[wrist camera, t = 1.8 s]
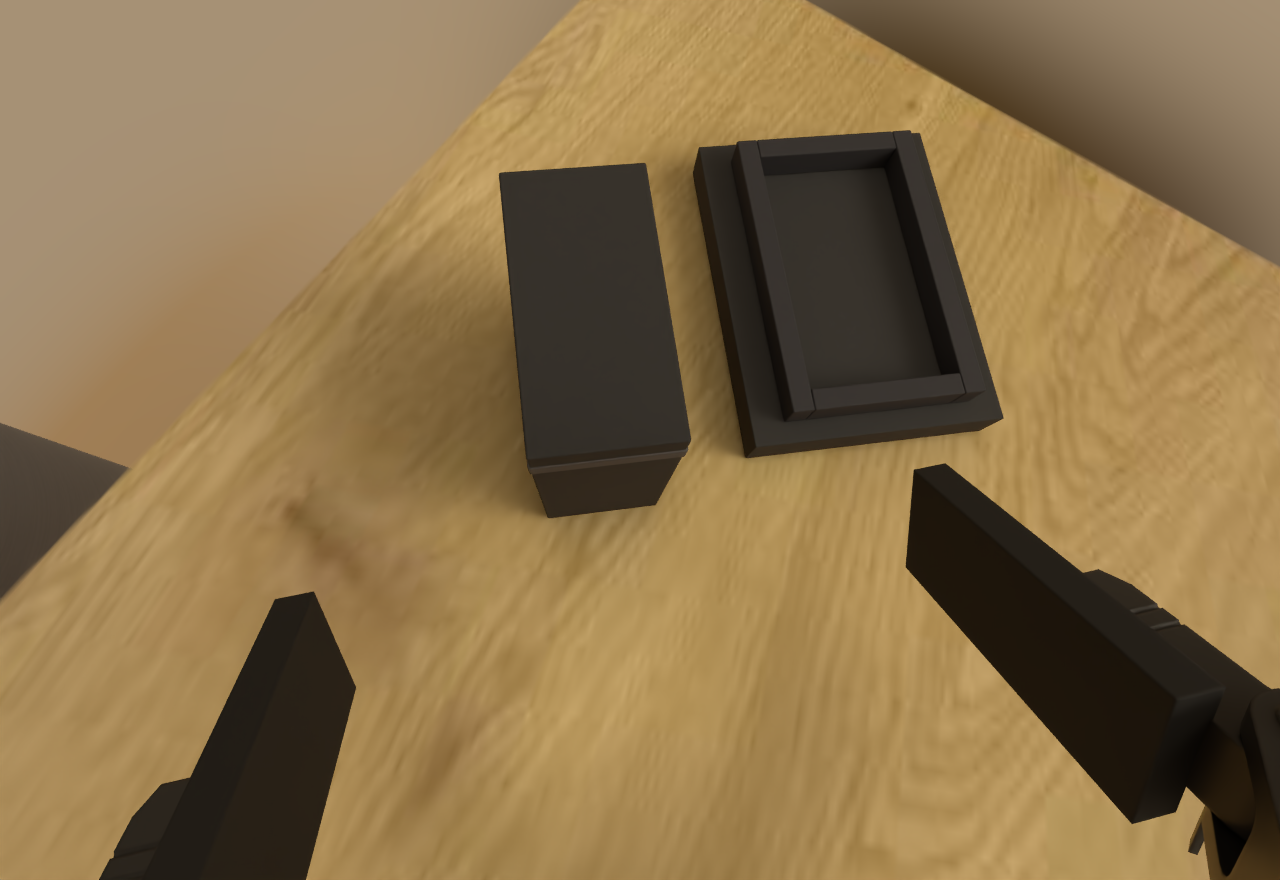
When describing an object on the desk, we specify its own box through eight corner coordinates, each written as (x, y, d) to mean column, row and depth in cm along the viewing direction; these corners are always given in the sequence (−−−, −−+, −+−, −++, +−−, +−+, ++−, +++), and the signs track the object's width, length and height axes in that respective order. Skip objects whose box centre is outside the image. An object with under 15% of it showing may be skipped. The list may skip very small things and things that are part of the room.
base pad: (745, 458, 32) (764, 438, 28) (692, 172, 36) (703, 125, 32) (980, 430, 33) (1024, 408, 30) (902, 157, 37) (934, 111, 34)
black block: (546, 519, 30) (524, 462, 20) (526, 317, 33) (496, 170, 22) (657, 505, 31) (694, 442, 20) (628, 308, 33) (647, 160, 23)
